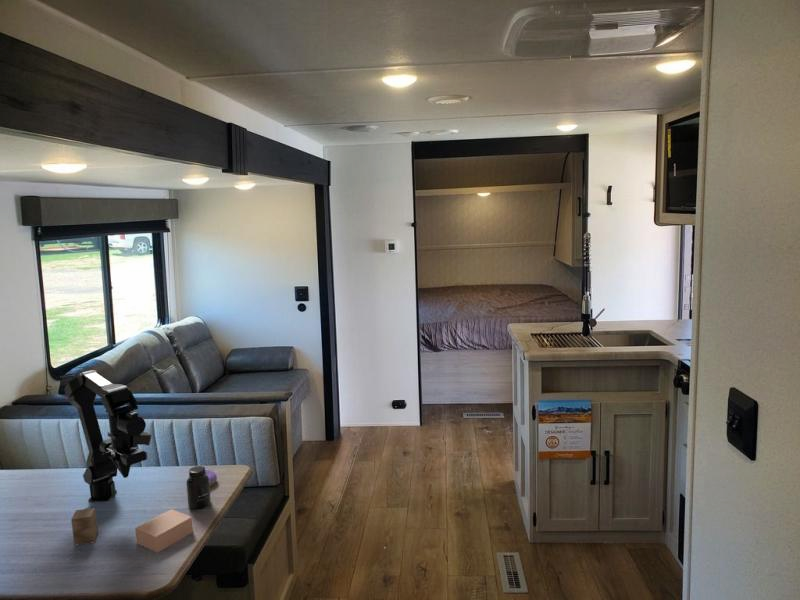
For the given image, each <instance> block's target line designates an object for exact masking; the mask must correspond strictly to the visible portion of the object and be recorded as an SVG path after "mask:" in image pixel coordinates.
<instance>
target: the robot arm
mask: <svg viewBox="0 0 800 600" xmlns="http://www.w3.org/2000/svg"><path fill="white" fill-rule="evenodd" d="M64 393H65V396H66V397H67V399H68V402H69V403H70V404H71V405H72V406H73V407H74V408H75V409H77V413H78V417H79V419H80V423H81V427H82V430H83V435H84V438H85V442H86V446H87V449H88V456H87V458H86V461H85V464H86V469H85V471H84V472H83V475H82V477H83V482H84V483H86V484H87V485H88V486H89V493H90V497H89V498H88V499H87V500H88V502H109V500H111V498H112V497H113V496H115V494H116V493H117V492H118V490H116V483H115V481H114V477H117V476H118V471H119V473H120V474H121V476H122V477H123V478H124V479H126V478H129V476H130V471H131V466H133V465H136V464H138V463H140V462H144V461H146V460H148V452H147V451H145V450H143V449H140V448H139V447H138V445H139V446H140V445H141V446H142V445H143V446H150V445H151V444H150V443H151V439H152V437H153V436H152V434H151V433H149V432H146V431H145V429H146V426H147V423H146V421H145V420H144V418H143V417H141V416H140V415H139V414H138V412H137V411H135V410H138V409H139V406H138V401H137V399H136V397H135V395H134V394H133V392H132V390H131V389H130V388H129V387H128V386H127V385H125V384H119V383H112V382H111V381H109V380H108V379H106V378H104V377H103V376H102V375H100V374H99V373H98V371H97V370H95V369H90V370H87V371H82V372H80V373H78V374H77V375H76V376H75V378H72V379H71V380H70V381H68V382H67V384H66V385H65V386H64ZM97 396H99V397H100V399H101V404H102V406H103V407H104V409H105V413H107V416H108V423H109V424H108V425H109V432H107V436H108V439H105V440H104V439H103V435H102V430H101V427H100V423H99V421H98V417H97V412H96V409H95V405H94V403H95V400H96V397H97Z"/></svg>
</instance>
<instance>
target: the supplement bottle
mask: <svg viewBox="0 0 800 600" xmlns="http://www.w3.org/2000/svg"><path fill="white" fill-rule="evenodd" d="M205 470H206V468H205V466H202V465H197V466H193V467H191V468H189V470H188V473H189V474H188V478H187V479H186V483H185V484H186V494H187V505H188V508H189V509H190V510H193V509H194V511H195V510H196V511H199V509H200V510H203V509H206V508H208V507H209V506H210V505H211V502H212V501H211V487H210V482H209V477H208V476H207V475H205V474H206V472H205Z"/></svg>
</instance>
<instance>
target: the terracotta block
mask: <svg viewBox="0 0 800 600" xmlns="http://www.w3.org/2000/svg"><path fill="white" fill-rule="evenodd" d="M193 528H194V527H193V517H192V516H191V515H188V514H185V513H182V512H180V511H177V510H175V509H168V510H167V511H165V512H163V513H161V514H159V515H157V516H155V517H154V518H152V519H150V520H148V521H146V522H144V523H142V524H140V525H139V526H136V527H135V528H134V530H135V538H136V544H137V543H138V544H137V545H139V544H140V546H141V545H142V547H143V546H144V547H143V548H146V547H147V548H146V549H148V548H149V549H148V550H150V549H151V550H150V551H152V550H153V551H152V552H154V551H155V552H154V553H157V554H158V553H159V552H161V551H164V549H166V548H168V547H170V546H171V545H174V544H175V543H177V542H178V541H180V540H183V538H185V537H187V536H188V535H190V534H192V533H193V532H194V529H193Z"/></svg>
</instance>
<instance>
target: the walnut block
mask: <svg viewBox="0 0 800 600" xmlns="http://www.w3.org/2000/svg"><path fill="white" fill-rule="evenodd" d="M71 528H72V536H73V543H74V544H73V545H74V546H76V545H75V544H82V545H85V544H84V543H89V544H92V543H91V542H94V541H96V539H97V537H98V535H99V530H98V521H97V513H96V508H95V507H93V508H84V509H76V510H75V512H74V513H73V514H72V517H71ZM97 534H98V535H97ZM96 536H97V537H96ZM94 543H95V542H94Z"/></svg>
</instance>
